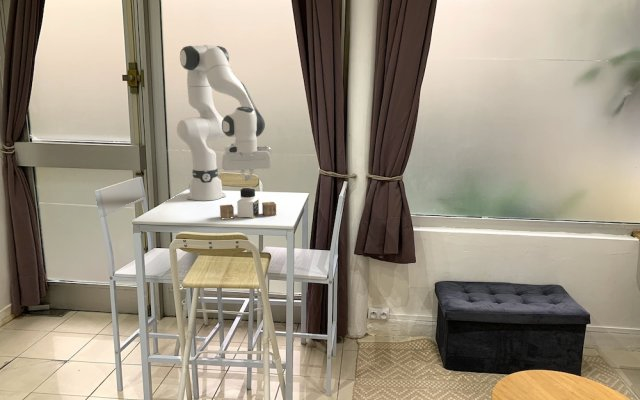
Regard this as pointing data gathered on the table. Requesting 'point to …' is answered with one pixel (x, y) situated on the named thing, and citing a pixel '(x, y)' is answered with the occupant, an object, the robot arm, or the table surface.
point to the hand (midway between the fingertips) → (247, 179)
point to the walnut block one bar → (226, 211)
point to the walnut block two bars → (268, 208)
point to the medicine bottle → (248, 203)
